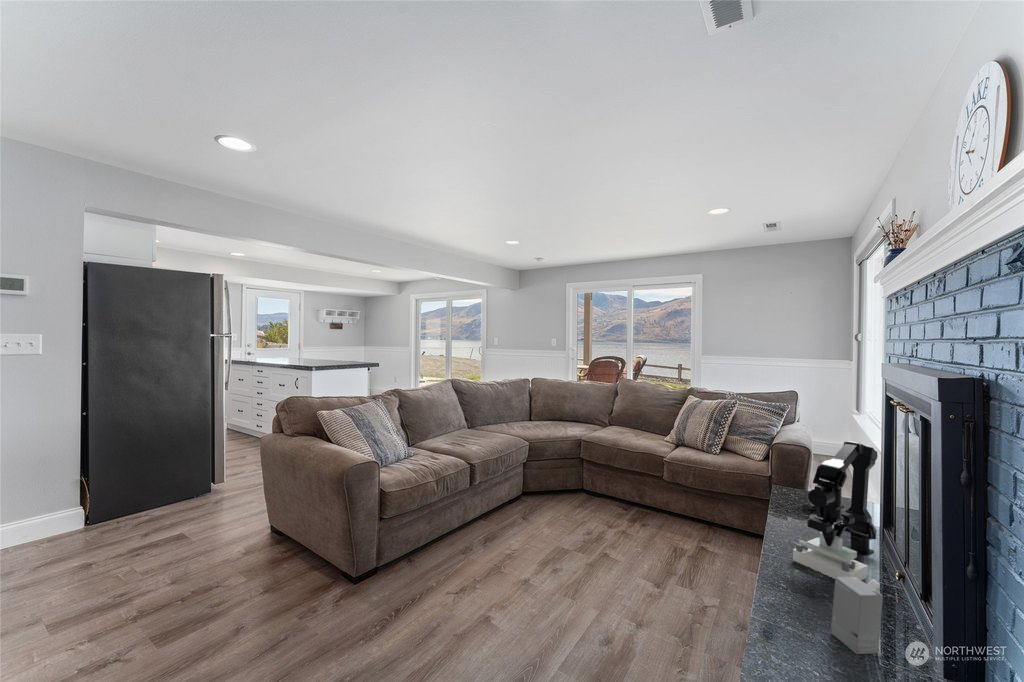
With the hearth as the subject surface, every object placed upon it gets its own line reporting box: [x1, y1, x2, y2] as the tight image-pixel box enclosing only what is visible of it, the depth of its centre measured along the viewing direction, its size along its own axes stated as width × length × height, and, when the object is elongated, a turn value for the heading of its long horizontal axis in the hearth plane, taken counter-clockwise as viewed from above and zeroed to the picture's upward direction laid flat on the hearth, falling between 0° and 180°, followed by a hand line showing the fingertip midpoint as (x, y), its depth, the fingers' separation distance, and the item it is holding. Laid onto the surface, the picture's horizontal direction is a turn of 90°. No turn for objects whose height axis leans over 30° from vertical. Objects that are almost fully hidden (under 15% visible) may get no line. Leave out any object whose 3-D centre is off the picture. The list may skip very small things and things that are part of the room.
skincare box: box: [830, 577, 884, 655], centre depth 114 cm, size 8×7×16 cm
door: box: [798, 531, 858, 565], centre depth 151 cm, size 9×16×6 cm, turn 27°
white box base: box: [792, 543, 869, 581], centre depth 151 cm, size 11×18×6 cm, turn 27°
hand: (830, 545), depth 151 cm, fingers closed on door, 2 cm apart
